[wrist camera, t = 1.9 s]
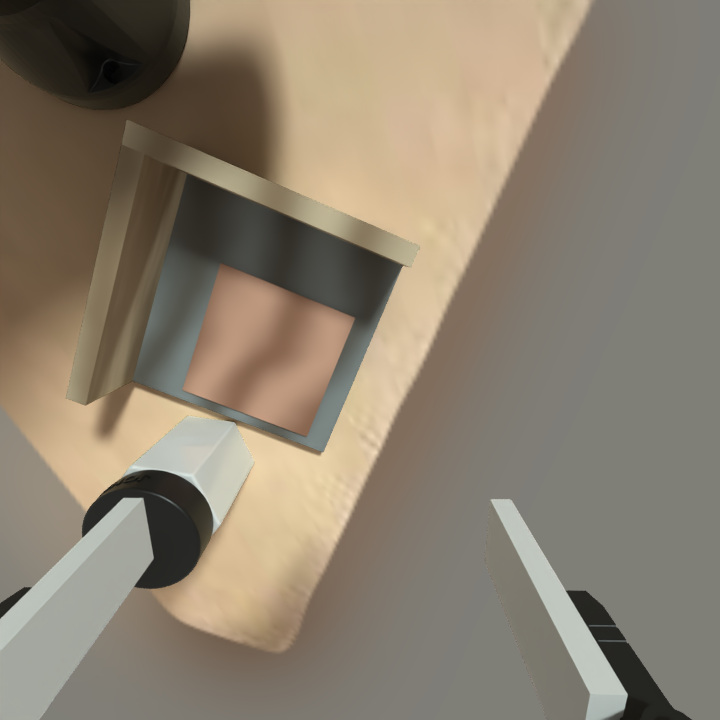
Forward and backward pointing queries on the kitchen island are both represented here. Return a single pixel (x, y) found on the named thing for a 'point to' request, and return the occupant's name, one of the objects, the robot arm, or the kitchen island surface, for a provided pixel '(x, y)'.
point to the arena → (230, 292)
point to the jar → (181, 493)
